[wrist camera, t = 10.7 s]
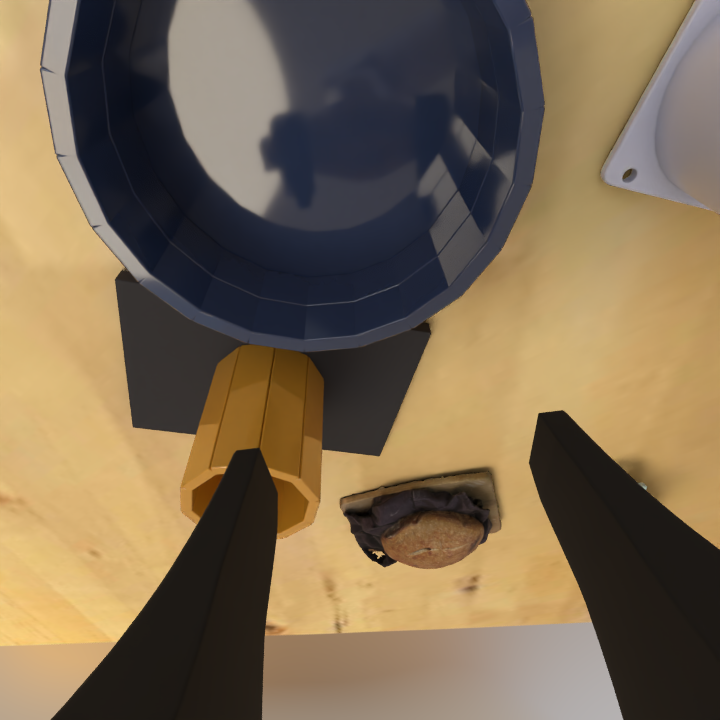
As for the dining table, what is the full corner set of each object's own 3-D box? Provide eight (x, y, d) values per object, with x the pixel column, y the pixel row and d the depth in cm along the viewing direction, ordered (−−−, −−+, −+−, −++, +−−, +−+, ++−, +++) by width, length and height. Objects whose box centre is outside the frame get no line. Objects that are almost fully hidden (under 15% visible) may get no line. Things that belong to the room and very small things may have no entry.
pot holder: (429, 323, 22) (431, 333, 22) (378, 446, 28) (379, 456, 28) (120, 269, 20) (114, 279, 19) (137, 416, 26) (132, 427, 25)
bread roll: (489, 461, 30) (505, 512, 27) (500, 525, 35) (515, 574, 32) (333, 493, 31) (333, 544, 29) (366, 550, 37) (369, 598, 34)
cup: (331, 351, 22) (329, 472, 17) (312, 426, 26) (306, 546, 20) (218, 333, 21) (178, 456, 16) (214, 413, 25) (181, 536, 19)
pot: (563, -58, 14) (651, -66, 10) (424, 302, 22) (443, 374, 18) (93, -222, 11) (-31, -316, 7) (133, 249, 19) (84, 319, 15)
